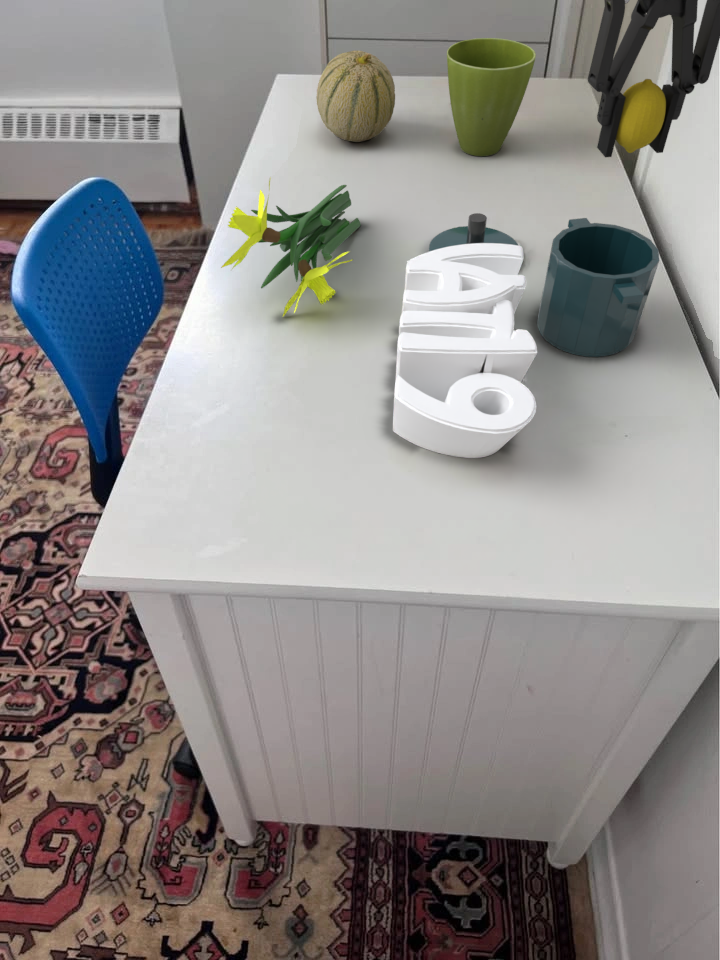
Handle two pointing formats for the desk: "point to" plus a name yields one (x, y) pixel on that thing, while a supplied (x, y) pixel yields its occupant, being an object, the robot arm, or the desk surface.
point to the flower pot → (487, 90)
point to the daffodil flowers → (308, 225)
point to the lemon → (641, 115)
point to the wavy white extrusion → (463, 351)
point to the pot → (596, 288)
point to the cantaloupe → (356, 96)
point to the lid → (470, 234)
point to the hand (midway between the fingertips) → (629, 149)
